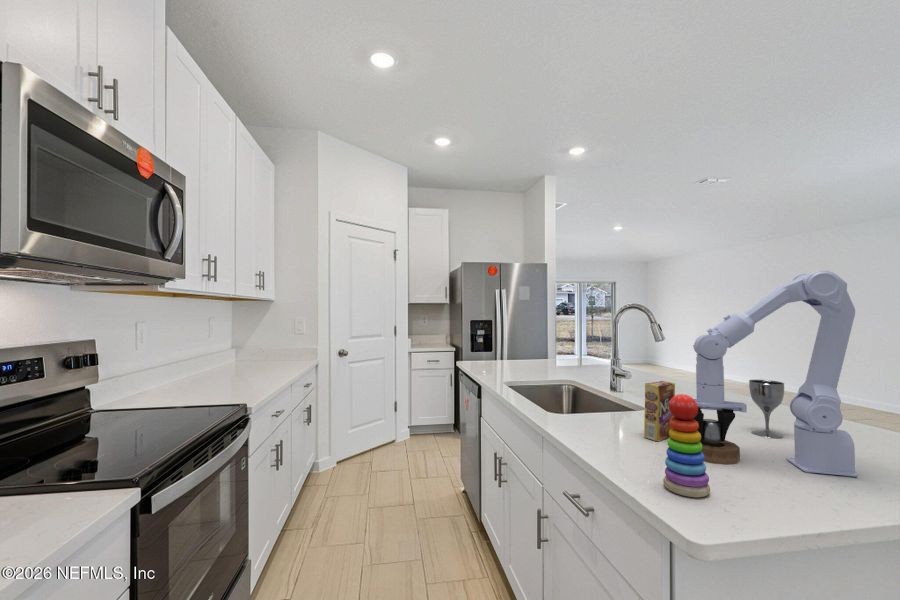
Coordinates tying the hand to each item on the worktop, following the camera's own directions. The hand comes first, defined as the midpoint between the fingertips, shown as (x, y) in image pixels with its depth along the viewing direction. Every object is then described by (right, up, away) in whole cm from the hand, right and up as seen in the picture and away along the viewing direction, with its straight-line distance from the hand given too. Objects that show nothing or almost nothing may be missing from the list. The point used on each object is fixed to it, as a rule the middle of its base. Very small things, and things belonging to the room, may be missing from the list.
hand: (711, 439), depth 98 cm
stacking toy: (-17, -4, -19) cm, 26 cm away
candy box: (-5, -5, +14) cm, 16 cm away
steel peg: (0, -3, 0) cm, 3 cm away
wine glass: (+27, -5, +17) cm, 32 cm away
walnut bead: (0, -4, 0) cm, 4 cm away
